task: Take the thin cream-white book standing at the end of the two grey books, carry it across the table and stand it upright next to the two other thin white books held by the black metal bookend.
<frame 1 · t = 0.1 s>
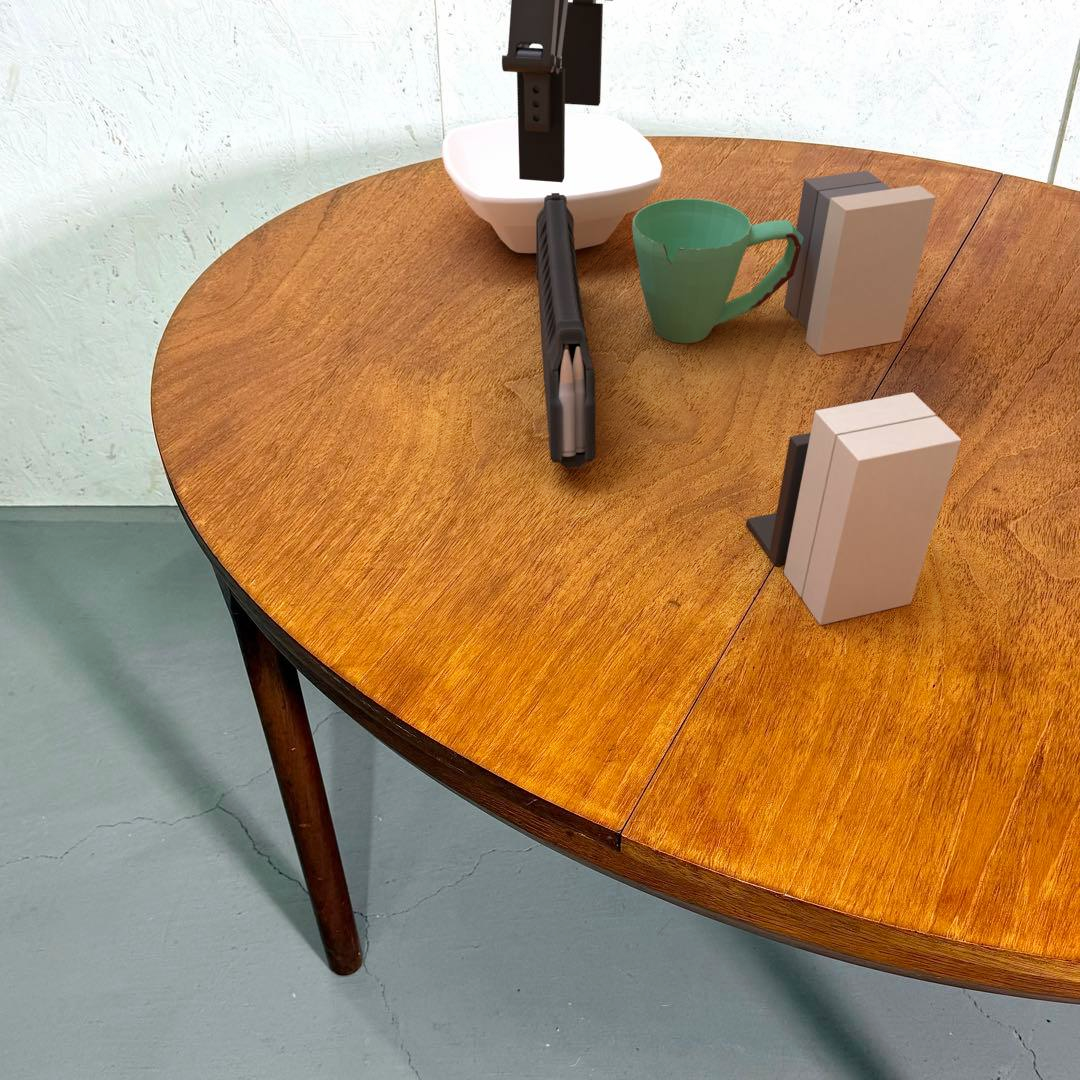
hand: (562, 138, 71), 22 cm above the table, tool pointing down, fingers open, 13 cm apart
thin book: (853, 341, 93), on the table
grey books: (826, 314, 96), on the table
mug: (708, 329, 95), on the table
bowl: (549, 237, 109), on the table
white books: (864, 613, 68), on the table
magazine: (562, 380, 89), on the table
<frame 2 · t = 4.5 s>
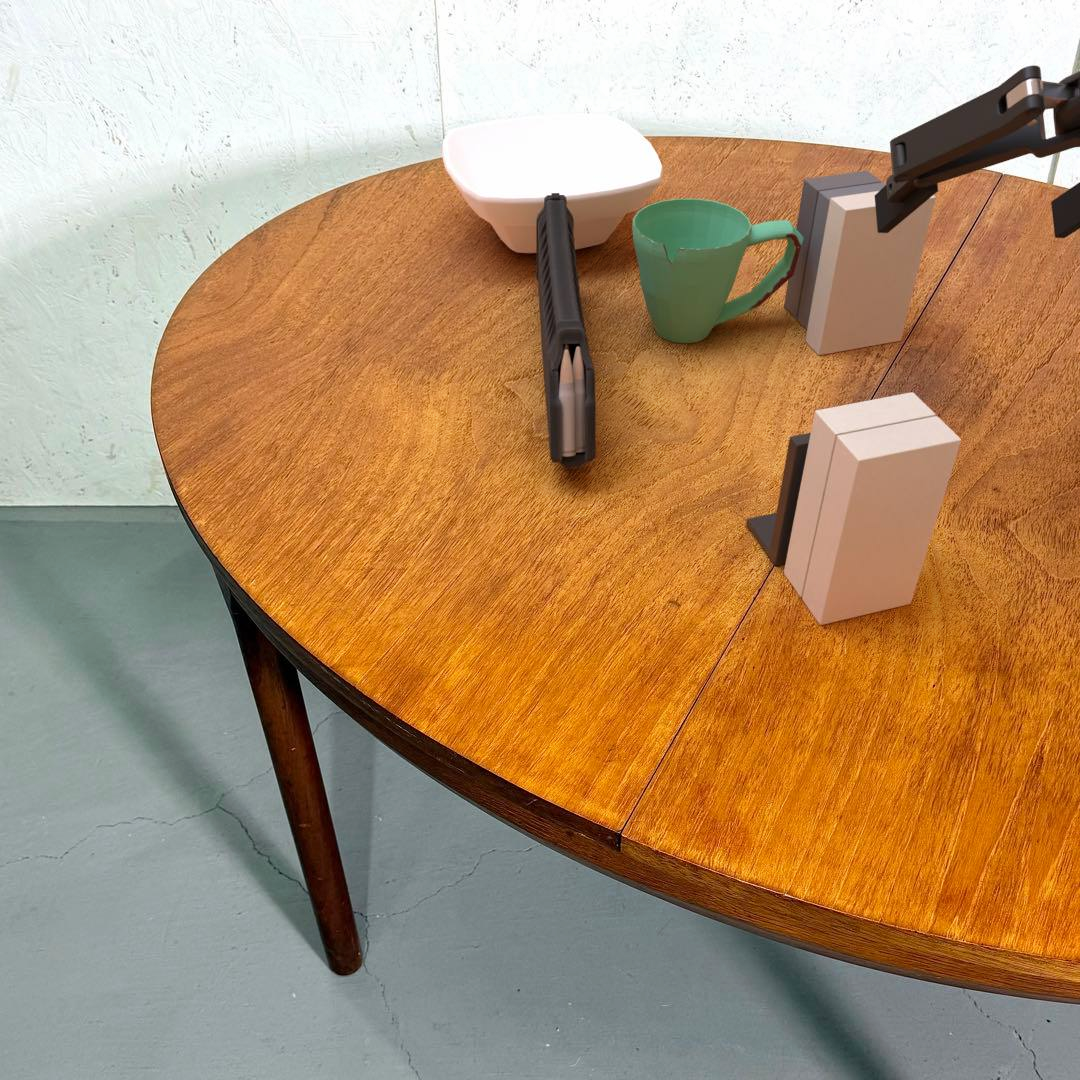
hand: (970, 217, 75), 16 cm above the table, tool tilted 40°, fingers open, 13 cm apart
nothing on the table moved.
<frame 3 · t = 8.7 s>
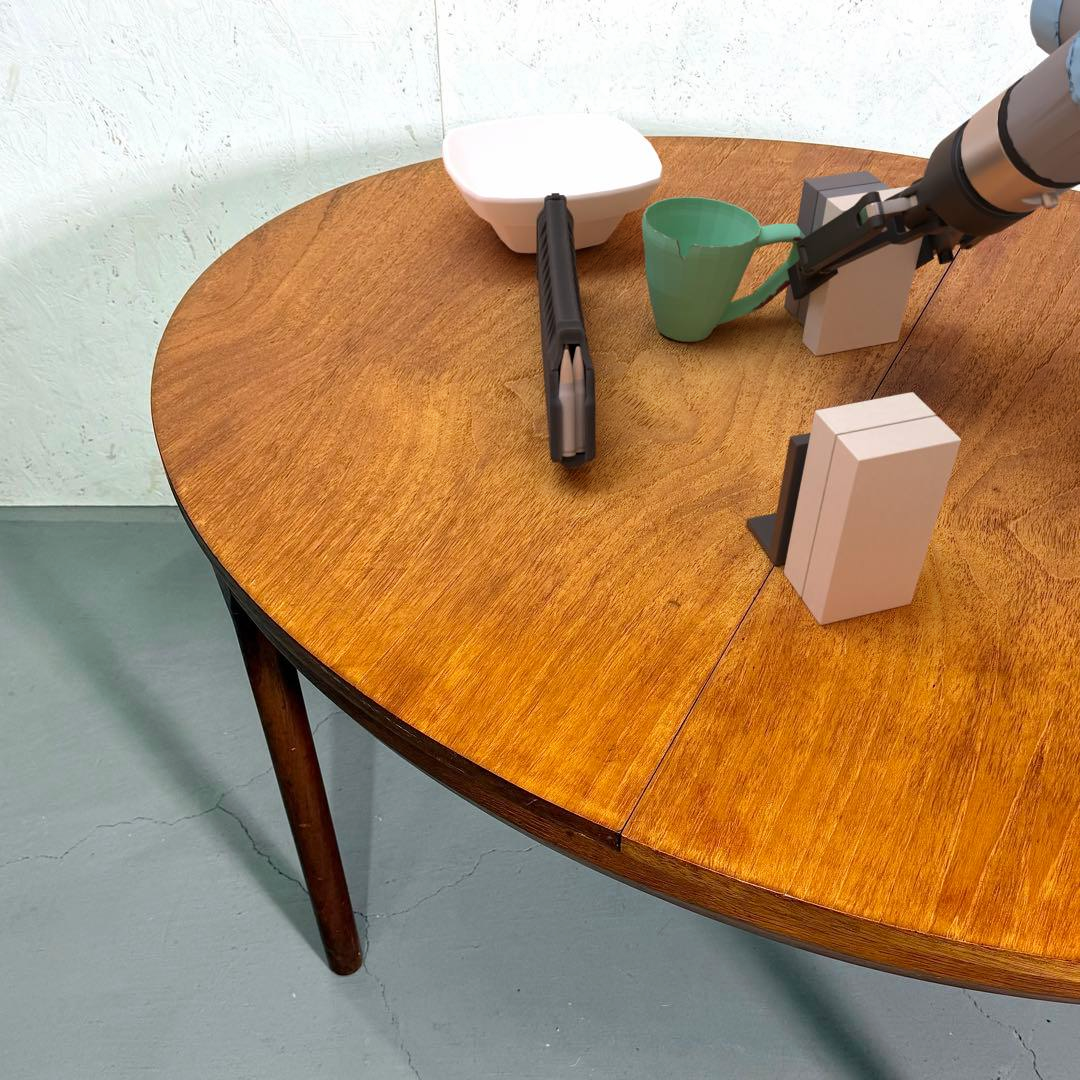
hand: (840, 277, 92), 5 cm above the table, tool tilted 45°, fingers closed on thin book, 8 cm apart
thin book: (849, 341, 92), on the table, touching gripper
mug: (709, 329, 95), on the table, touching grey books, gripper
everything else where it was.
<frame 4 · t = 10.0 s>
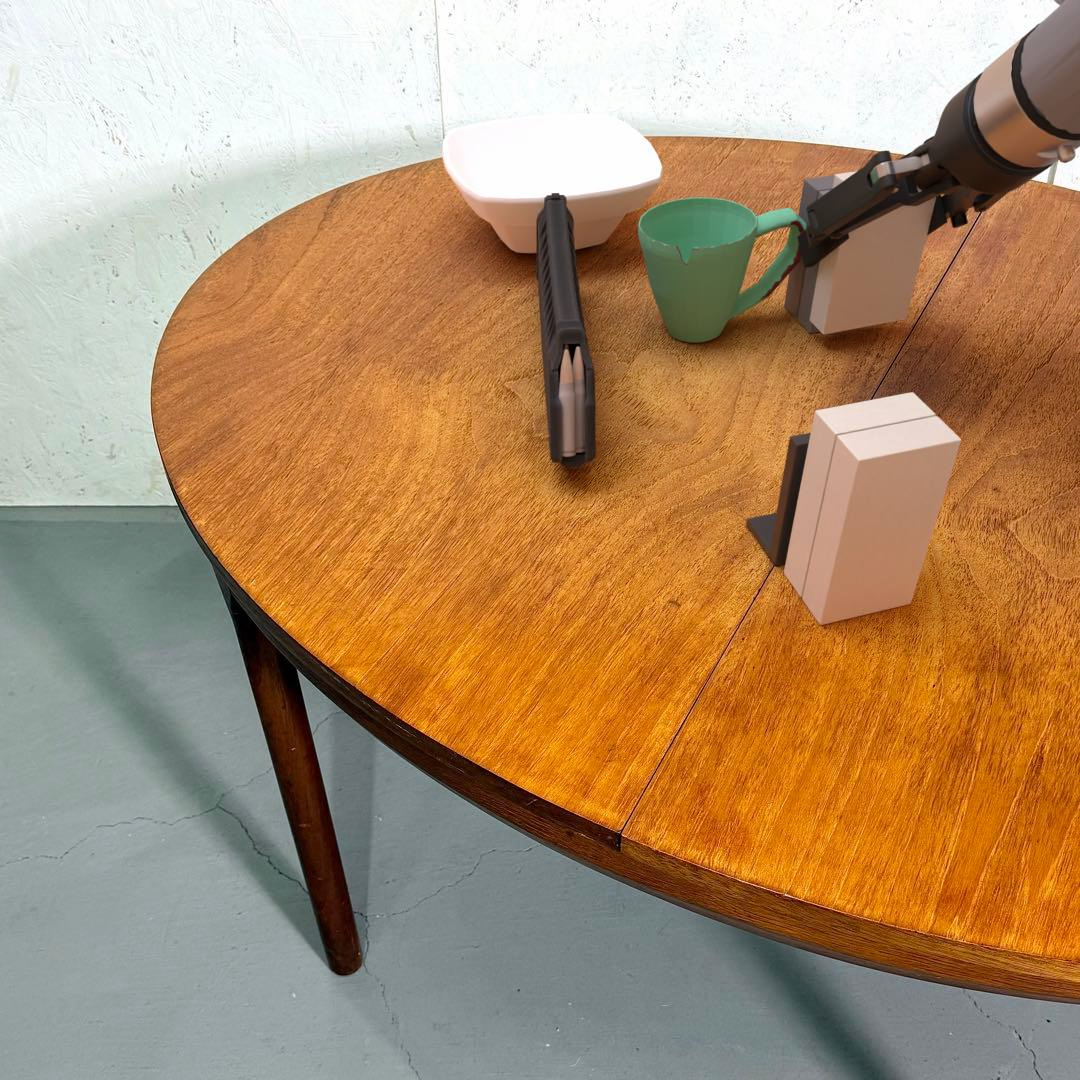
hand: (851, 243, 90), 8 cm above the table, tool tilted 45°, fingers closed on thin book, 8 cm apart
thin book: (857, 319, 92), point 2 cm above the table, touching gripper
mug: (720, 325, 95), on the table
everything else where it was.
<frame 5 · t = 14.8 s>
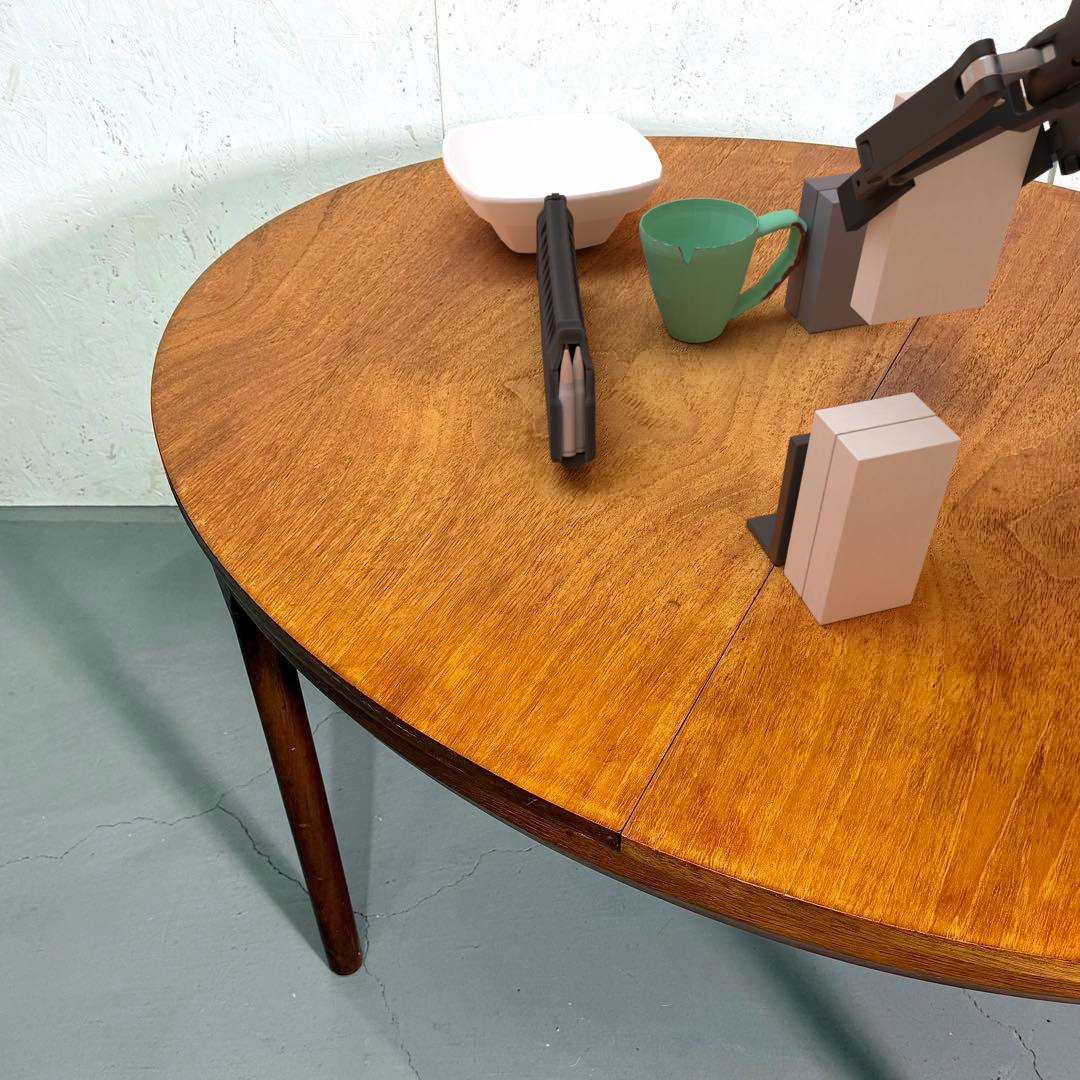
hand: (911, 200, 65), 21 cm above the table, tool tilted 45°, fingers closed on thin book, 8 cm apart
thin book: (916, 306, 66), point 15 cm above the table, touching gripper
mug: (720, 325, 95), on the table, touching grey books
everything else where it was.
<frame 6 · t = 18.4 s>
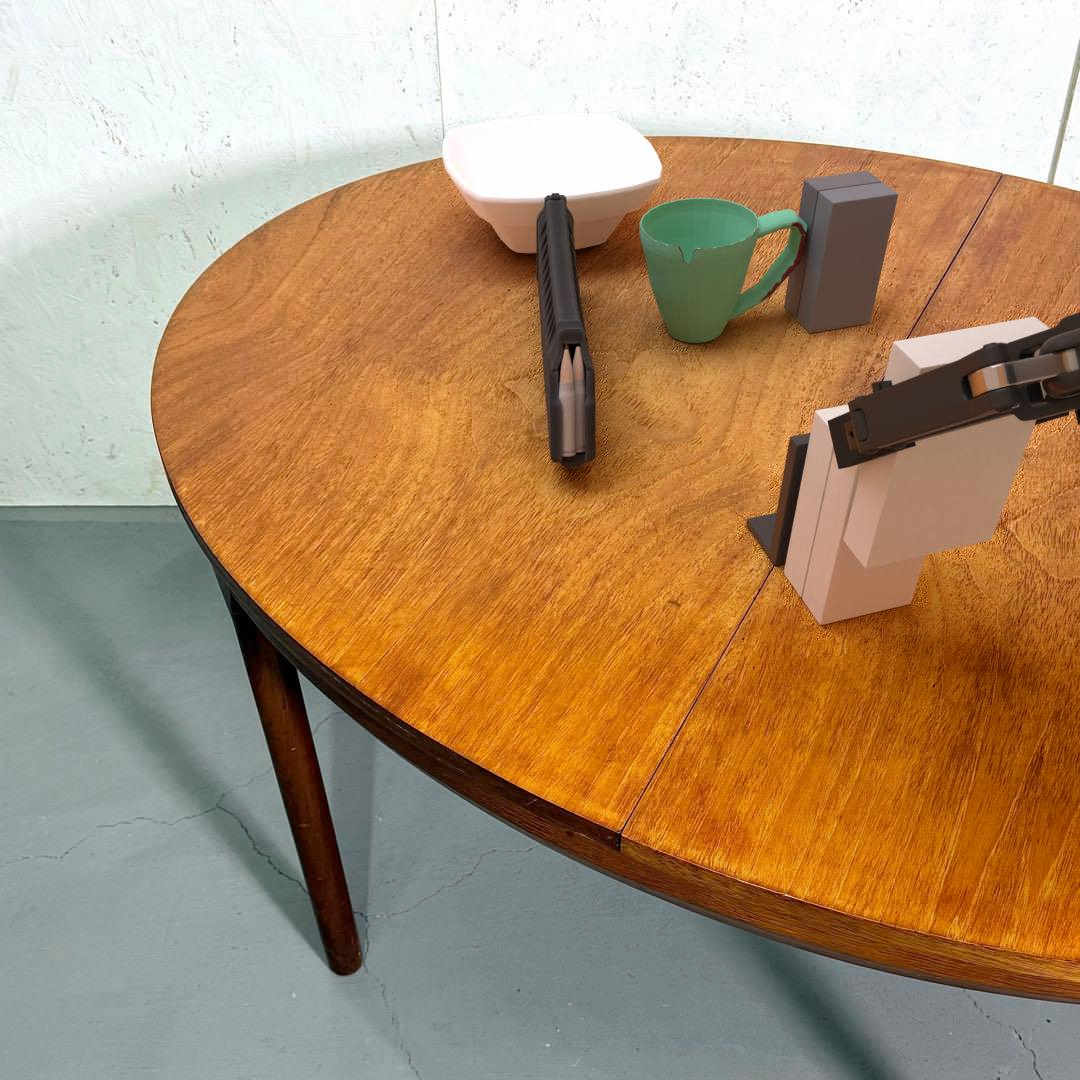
hand: (910, 429, 59), 14 cm above the table, tool tilted 45°, fingers closed on thin book, 8 cm apart
thin book: (917, 540, 60), point 8 cm above the table, touching gripper
everything else where it was.
when the fingers open (6 cm above the table, at t = 21.0 s): thin book stays where it is, on the table.
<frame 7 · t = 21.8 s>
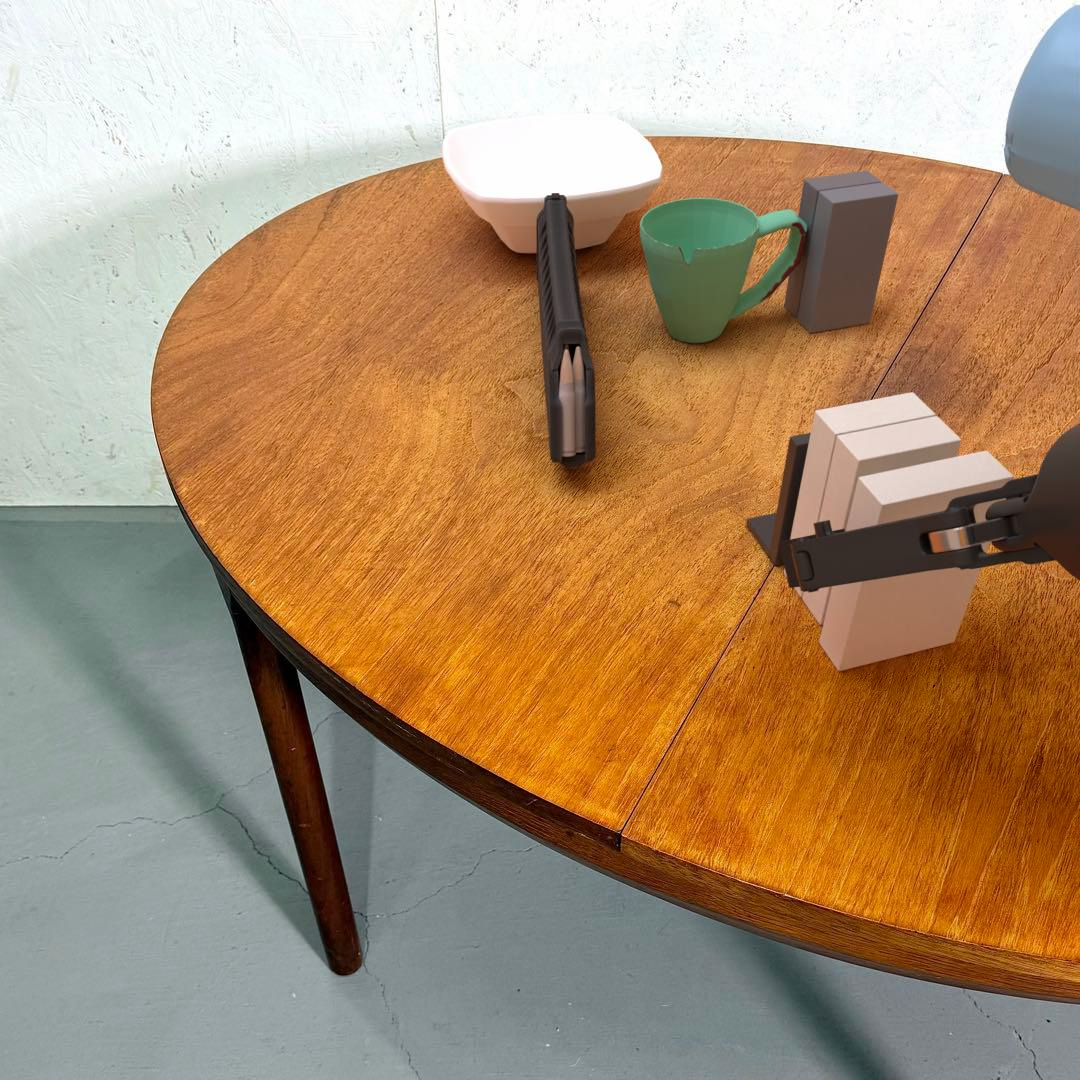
hand: (894, 540, 62), 7 cm above the table, tool tilted 45°, fingers open, 13 cm apart
thin book: (886, 642, 66), on the table
everything else where it was.
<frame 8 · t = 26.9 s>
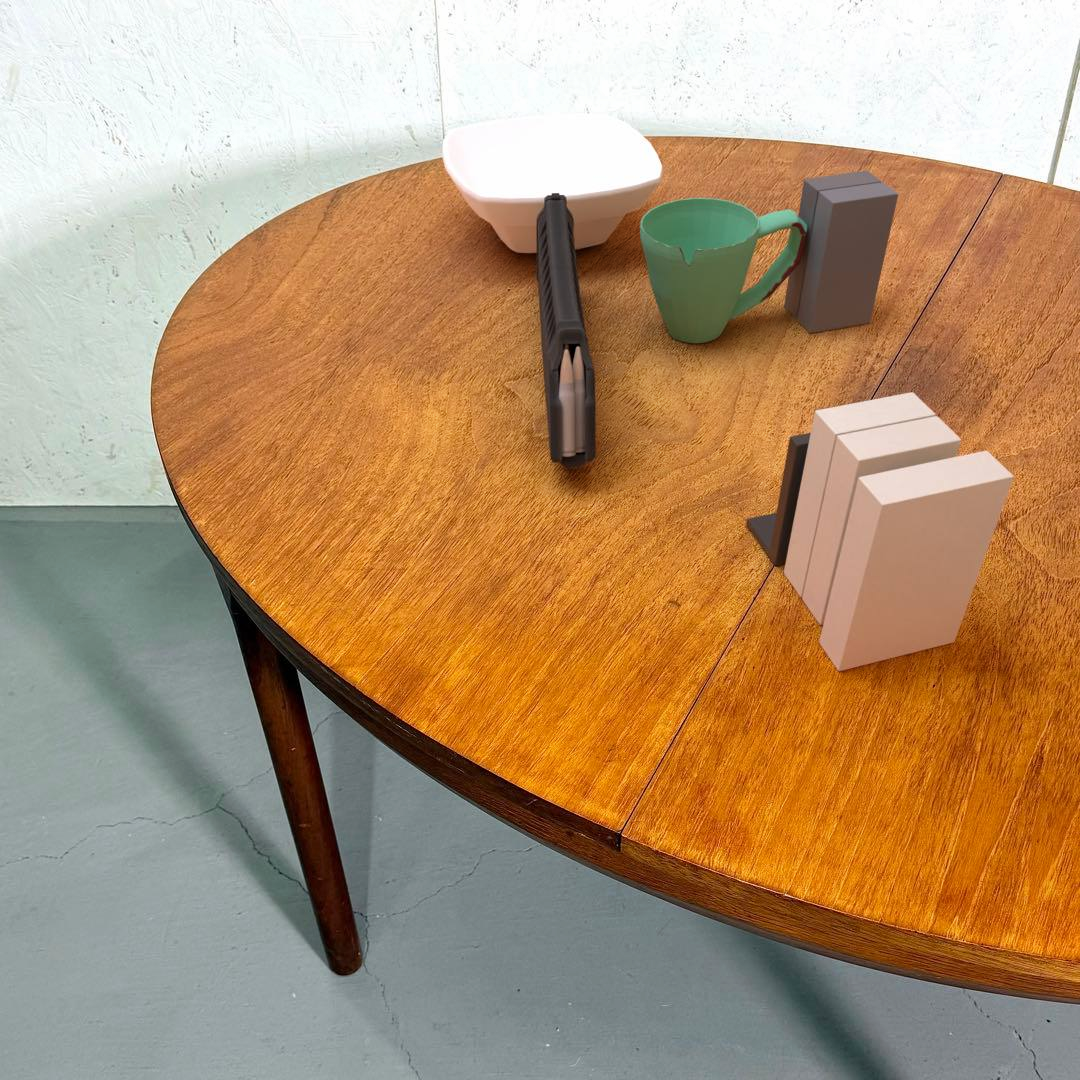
nothing on the table moved.
at the end: thin book 0.6 cm from the target spot on the white books, point 0.0 cm above the white books's base; thin book tilted 0°; the gripper is holding nothing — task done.
